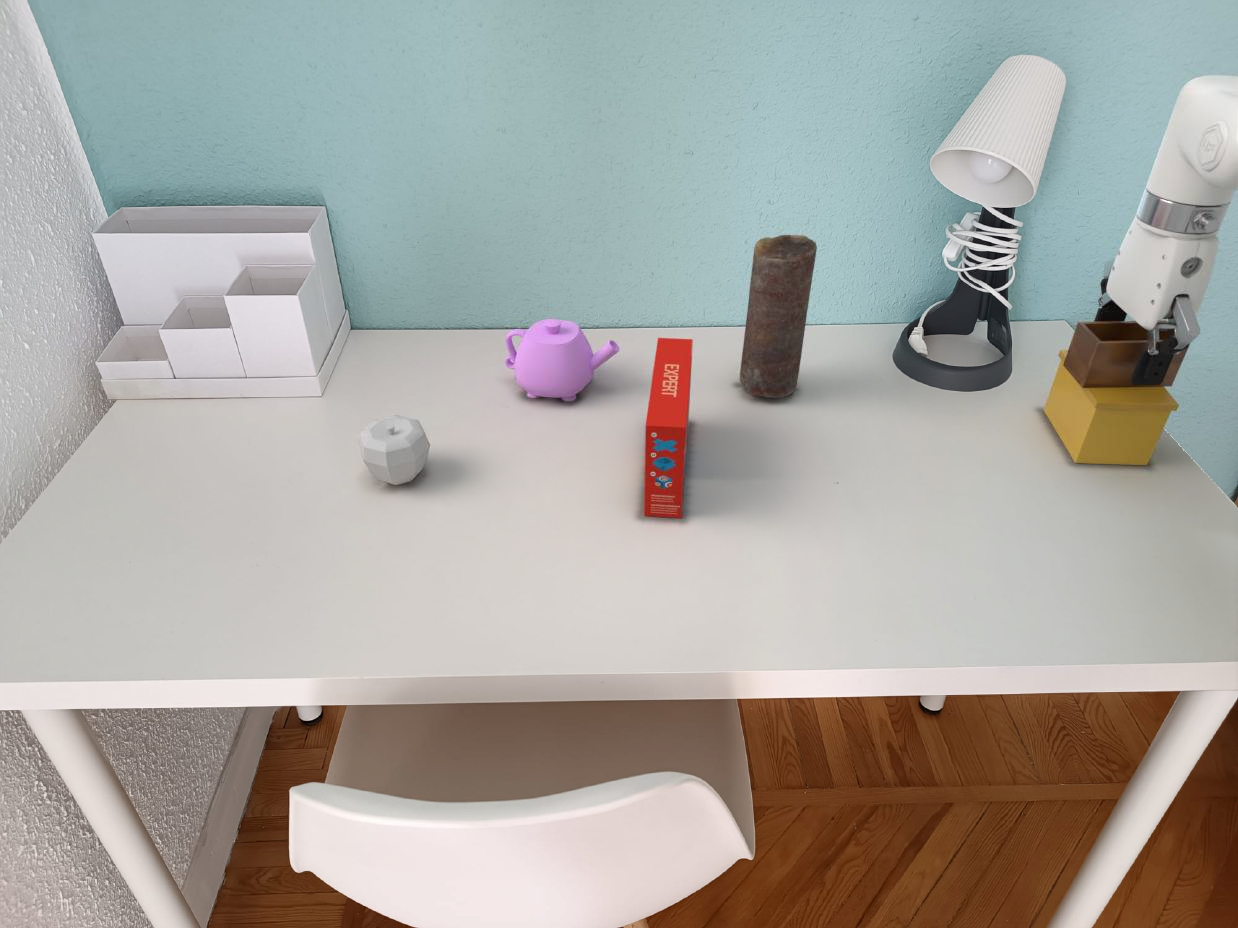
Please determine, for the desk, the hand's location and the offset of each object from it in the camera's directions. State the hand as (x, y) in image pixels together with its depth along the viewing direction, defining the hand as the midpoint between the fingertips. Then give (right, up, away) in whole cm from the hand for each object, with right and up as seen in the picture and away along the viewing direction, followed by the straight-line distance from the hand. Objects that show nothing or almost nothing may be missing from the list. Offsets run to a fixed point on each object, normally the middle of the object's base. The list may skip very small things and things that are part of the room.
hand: (1122, 361), depth 97 cm
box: (0, -8, +6) cm, 10 cm away
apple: (-81, -13, +1) cm, 82 cm away
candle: (-37, -2, +15) cm, 40 cm away
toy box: (-51, -12, +2) cm, 52 cm away
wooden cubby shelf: (0, -2, +1) cm, 2 cm away
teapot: (-64, -2, +16) cm, 66 cm away
